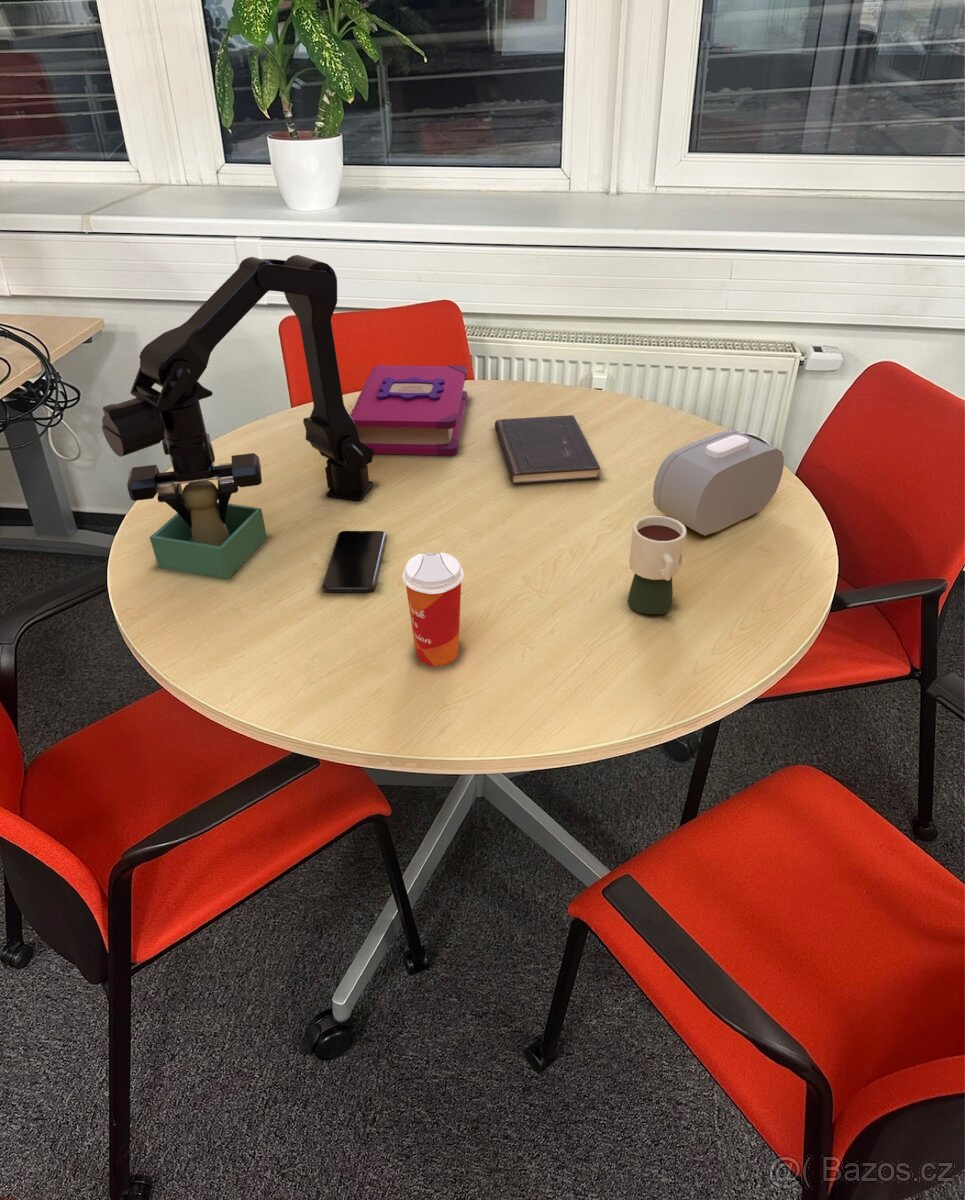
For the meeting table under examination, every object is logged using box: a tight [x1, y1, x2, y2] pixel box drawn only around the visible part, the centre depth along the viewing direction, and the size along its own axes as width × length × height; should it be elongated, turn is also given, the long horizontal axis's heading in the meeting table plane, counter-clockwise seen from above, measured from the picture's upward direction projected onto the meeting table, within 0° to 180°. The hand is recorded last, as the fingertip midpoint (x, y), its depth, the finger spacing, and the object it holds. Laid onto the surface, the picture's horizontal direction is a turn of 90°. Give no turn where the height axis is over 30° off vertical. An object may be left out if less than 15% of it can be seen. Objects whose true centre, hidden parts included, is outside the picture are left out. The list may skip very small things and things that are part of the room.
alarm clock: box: [652, 428, 785, 537], centre depth 135 cm, size 21×10×13 cm, turn 126°
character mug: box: [627, 515, 687, 615], centre depth 115 cm, size 11×7×13 cm, turn 8°
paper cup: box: [401, 551, 465, 667], centre depth 107 cm, size 8×8×14 cm
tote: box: [149, 501, 268, 580], centre depth 129 cm, size 12×12×6 cm
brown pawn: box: [182, 480, 230, 546], centre depth 127 cm, size 6×6×11 cm
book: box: [350, 364, 468, 457], centre depth 166 cm, size 21×28×8 cm
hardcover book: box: [494, 414, 601, 486], centre depth 157 cm, size 16×23×2 cm
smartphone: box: [321, 530, 387, 593], centre depth 128 cm, size 8×1×16 cm
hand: (208, 525), depth 128 cm, fingers closed on brown pawn, 4 cm apart
